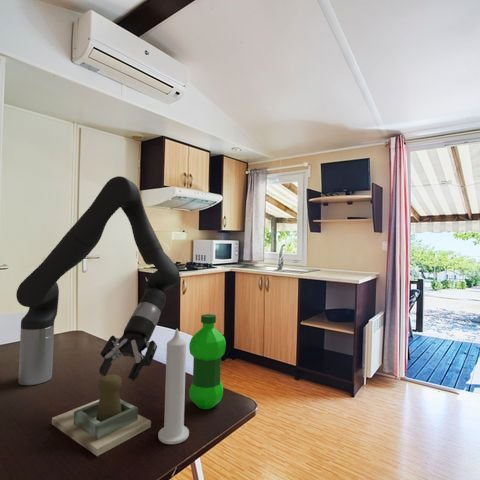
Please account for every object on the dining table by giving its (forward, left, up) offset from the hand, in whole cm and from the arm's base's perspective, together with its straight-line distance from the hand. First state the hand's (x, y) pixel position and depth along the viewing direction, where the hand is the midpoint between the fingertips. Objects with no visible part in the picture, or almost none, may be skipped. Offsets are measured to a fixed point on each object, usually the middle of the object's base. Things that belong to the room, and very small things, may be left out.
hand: (116, 377), depth 82 cm
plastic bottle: (+12, +21, -11) cm, 27 cm away
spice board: (-1, -3, -11) cm, 11 cm away
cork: (+2, -3, -10) cm, 10 cm away
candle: (+16, +5, -11) cm, 20 cm away
